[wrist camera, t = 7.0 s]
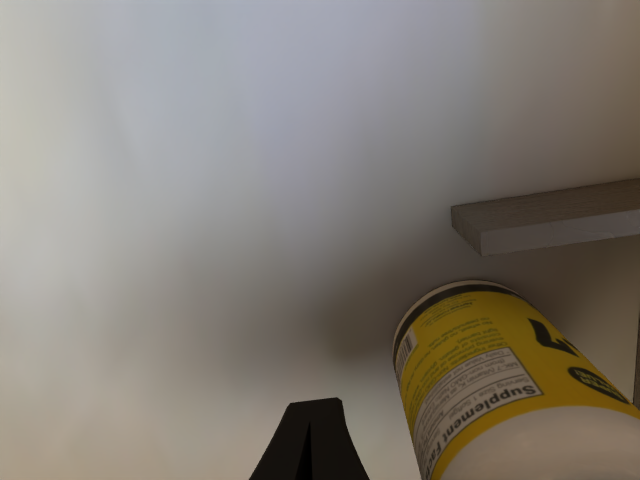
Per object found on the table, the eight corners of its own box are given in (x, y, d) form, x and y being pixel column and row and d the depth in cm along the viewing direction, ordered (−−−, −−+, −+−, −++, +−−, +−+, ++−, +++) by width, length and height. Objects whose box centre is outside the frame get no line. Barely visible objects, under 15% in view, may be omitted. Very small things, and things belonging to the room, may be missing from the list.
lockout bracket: (672, 173, 12) (760, 192, 9) (648, 439, 15) (710, 505, 12) (450, 206, 12) (480, 232, 10) (468, 459, 15) (494, 526, 13)
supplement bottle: (567, 357, 14) (901, 714, 6) (442, 429, 15) (580, 821, 7) (490, 244, 13) (770, 495, 5) (360, 330, 14) (406, 661, 6)
